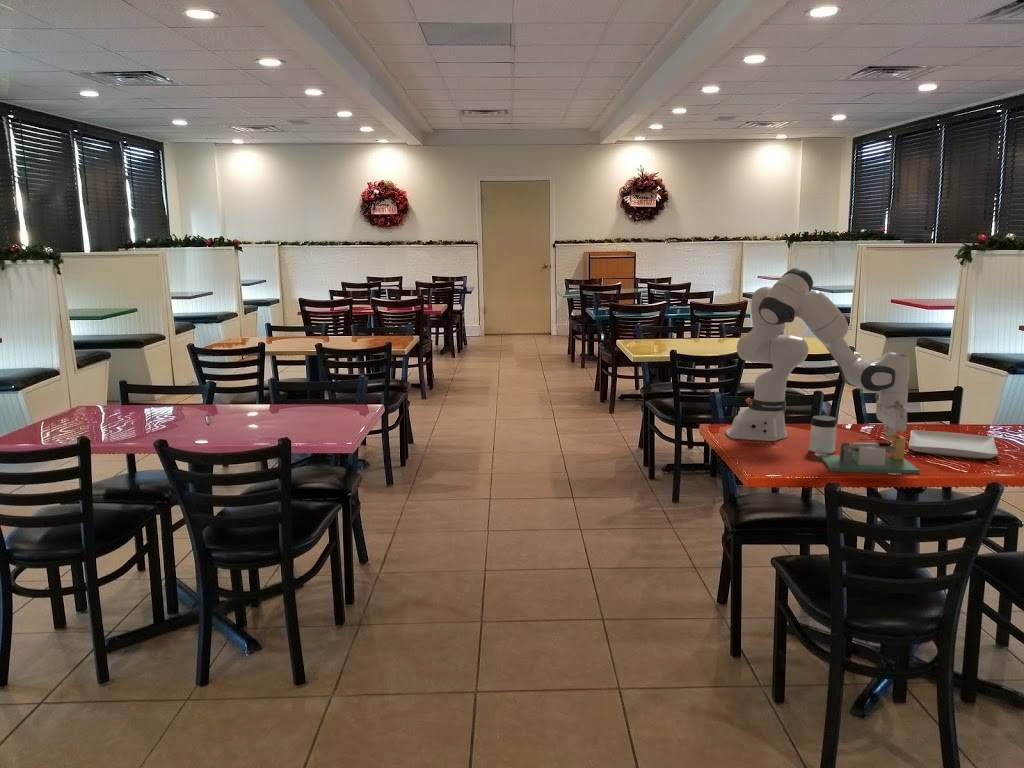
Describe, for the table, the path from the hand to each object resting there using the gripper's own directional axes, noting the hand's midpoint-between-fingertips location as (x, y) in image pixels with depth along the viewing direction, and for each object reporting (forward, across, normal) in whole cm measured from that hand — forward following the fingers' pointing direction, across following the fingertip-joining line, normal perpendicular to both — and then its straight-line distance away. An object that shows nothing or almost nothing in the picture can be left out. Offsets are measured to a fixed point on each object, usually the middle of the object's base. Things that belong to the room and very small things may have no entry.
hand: (889, 438), depth 275 cm
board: (+6, -14, +11) cm, 19 cm away
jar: (+6, +4, +21) cm, 22 cm away
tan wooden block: (+5, -8, +1) cm, 9 cm away
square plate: (+7, +11, -25) cm, 28 cm away
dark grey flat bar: (+1, -14, +11) cm, 18 cm away
